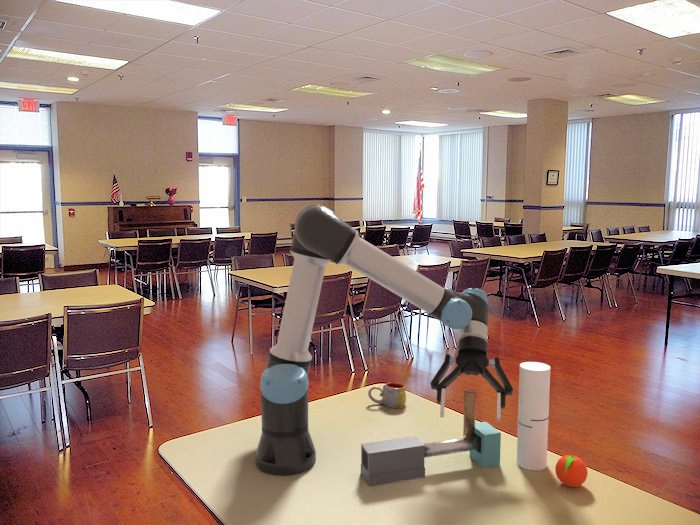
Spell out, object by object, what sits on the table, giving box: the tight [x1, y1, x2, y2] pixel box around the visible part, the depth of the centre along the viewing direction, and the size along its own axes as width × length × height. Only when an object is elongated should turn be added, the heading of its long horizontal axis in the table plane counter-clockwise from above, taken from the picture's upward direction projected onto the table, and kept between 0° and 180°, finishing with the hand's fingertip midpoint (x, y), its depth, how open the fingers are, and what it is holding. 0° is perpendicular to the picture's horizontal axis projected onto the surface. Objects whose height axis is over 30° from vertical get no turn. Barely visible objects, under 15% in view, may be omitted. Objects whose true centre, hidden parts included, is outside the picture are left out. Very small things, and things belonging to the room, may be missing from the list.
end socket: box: [469, 421, 502, 469], centre depth 144 cm, size 7×4×8 cm, turn 17°
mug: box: [367, 382, 407, 409], centre depth 183 cm, size 12×7×7 cm, turn 81°
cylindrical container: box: [516, 361, 551, 472], centre depth 142 cm, size 7×7×25 cm
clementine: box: [554, 454, 589, 488], centre depth 132 cm, size 8×7×7 cm
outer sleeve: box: [360, 435, 426, 487], centre depth 137 cm, size 6×14×8 cm, turn 107°
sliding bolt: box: [423, 389, 481, 459], centre depth 141 cm, size 3×18×15 cm, turn 107°
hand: (470, 417), depth 141 cm, fingers open, 13 cm apart
